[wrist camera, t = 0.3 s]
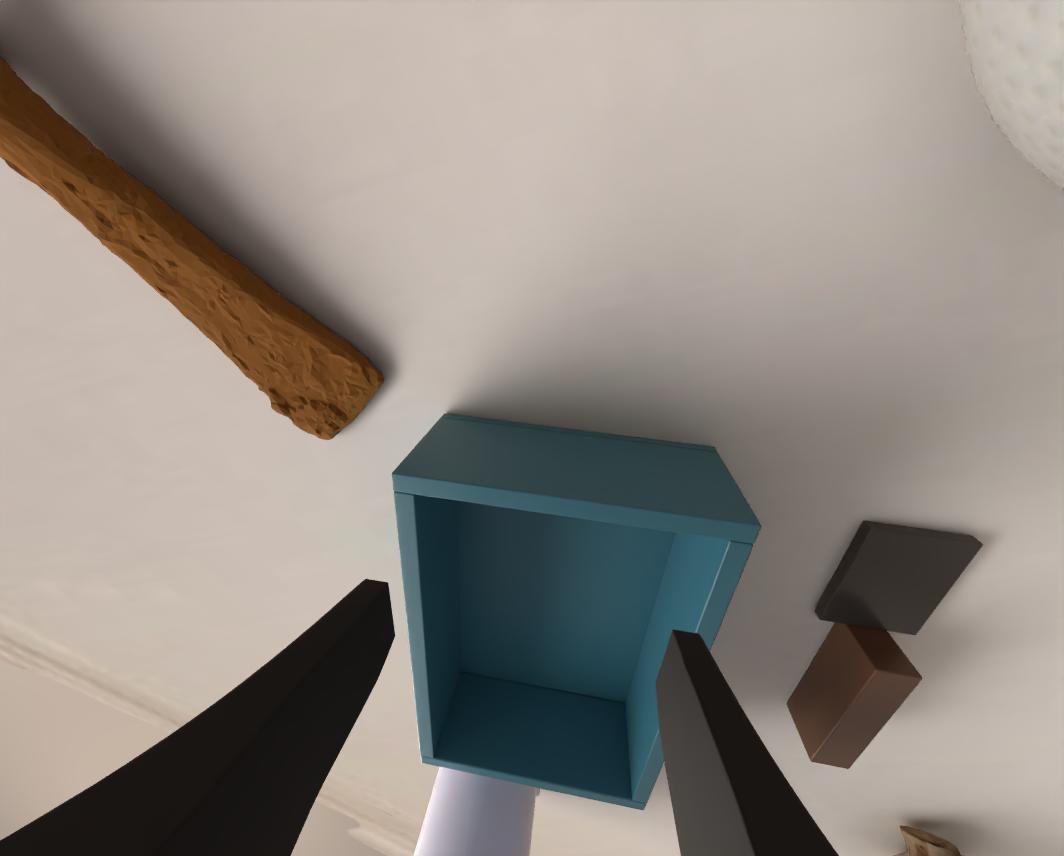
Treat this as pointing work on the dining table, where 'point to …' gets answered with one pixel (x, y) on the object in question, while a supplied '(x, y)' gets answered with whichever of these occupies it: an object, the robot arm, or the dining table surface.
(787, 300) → the dining table surface
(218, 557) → the dining table surface
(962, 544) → the scraper
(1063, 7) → the cereal bowl
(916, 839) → the mushroom
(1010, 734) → the dining table surface
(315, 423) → the primitive tool
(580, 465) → the bin
